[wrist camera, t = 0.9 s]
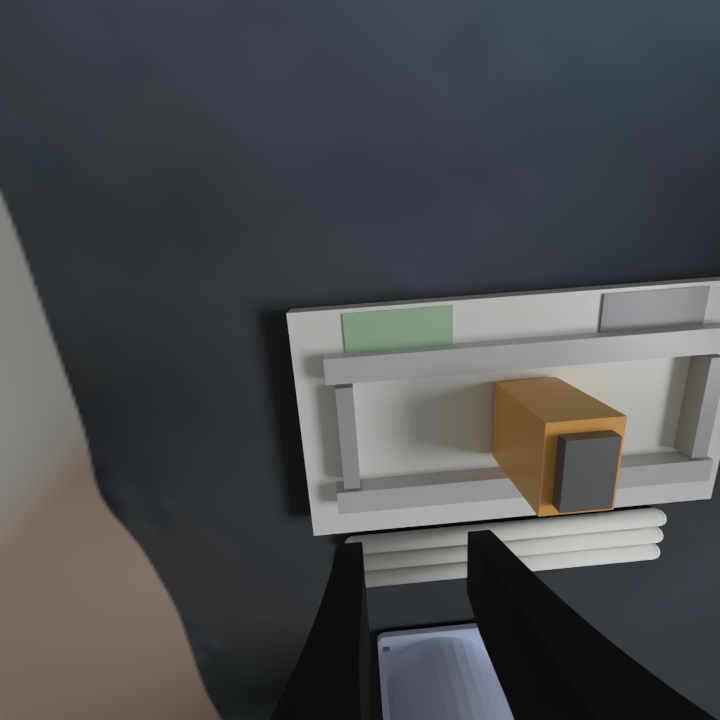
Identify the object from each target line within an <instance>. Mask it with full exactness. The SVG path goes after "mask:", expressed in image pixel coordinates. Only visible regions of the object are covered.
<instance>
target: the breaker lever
mask: <svg viewBox="0 0 720 720" xmlns="http://www.w3.org/2000/svg"><path fill="white" fill-rule="evenodd" d="M626 420H627V416H626V415H624V414H622V413H621V412H619V411H617V410H615V409H613V408H612V407H610V406H608V405H606V404H604V403H603V402H601V401H599V400H597V399H595V398H593V397H592V396H590V395H588V394H586V393H584V392H583V391H581V390H579V389H577V388H575V387H573V386H572V385H570V384H568V383H566V382H564V381H563V380H561V379H559V378H557V377H550V378H537V379H525V380H513V381H501V382H495V390H494V419H493V447H492V457H493V458H494V459H495V460H496V462H497V463H498V464H499V466H500V467H501V468H502V470H503V471H504V472H505V474H506V475H507V476H508V477H509V479H510V480H511V481H512V483H513V484H514V485H515V487H516V488H517V489H518V491H519V492H520V493H521V494H522V496H523V497H524V498H525V500H526V501H527V502H528V504H529V505H530V506H531V508H532V509H533V510H534V512H535V513H536V514H537V515H538V517H541V516H551V515H562V514H573V513H583V512H594V511H605V510H614V503H615V496H616V489H617V482H618V476H619V469H620V462H621V455H622V448H623V441H624V434H625V427H626Z"/></svg>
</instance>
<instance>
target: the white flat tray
mask: <svg viewBox="0 0 720 720" xmlns="http://www.w3.org/2000/svg"><path fill="white" fill-rule="evenodd" d="M286 315H287V323H288V331H289V339H290V347H291V355H292V364H293V372H294V380H295V388H296V396H297V404H298V412H299V420H300V428H301V436H302V444H303V452H304V460H305V468H306V476H307V484H308V492H309V500H310V508H311V516H312V524H313V532H314V536H316V535H327V534H338V533H348V532H359V531H370V530H380V529H391V528H402V527H413V526H423V525H434V524H445V523H455V522H466V521H477V520H487V519H498V518H509V517H519V516H530V515H537V514H536V513H535V512H534V510H533V509H532V508H531V506H530V505H529V504H528V502H527V501H526V500H525V498H524V497H523V496H522V494H521V493H520V492H519V491H518V489H517V488H516V487H515V485H514V484H513V483H512V481H511V480H510V479H509V477H508V476H507V475H506V474H505V472H504V471H503V470H502V468H501V467H500V466H499V464H498V463H497V462H496V460H495V459H494V458H493V457H492V447H493V419H494V390H495V382H501V381H513V380H525V379H537V378H550V377H557V378H559V379H561V380H563V381H564V382H566V383H568V384H570V385H572V386H573V387H575V388H577V389H579V390H581V391H583V392H584V393H586V394H588V395H590V396H592V397H593V398H595V399H597V400H599V401H601V402H603V403H604V404H606V405H608V406H610V407H612V408H613V409H615V410H617V411H619V412H621V413H622V414H624V415H626V416H627V420H626V427H625V434H624V441H623V448H622V455H621V462H620V469H619V476H618V482H617V489H616V496H615V503H614V508H616V507H626V506H637V505H648V504H658V503H669V502H680V501H690V500H701V499H711V495H712V491H713V486H714V482H715V478H716V473H717V469H718V464H719V460H720V277H708V278H695V279H681V280H668V281H655V282H642V283H628V284H615V285H602V286H588V287H575V288H562V289H548V290H535V291H522V292H508V293H495V294H482V295H468V296H455V297H442V298H428V299H415V300H402V301H388V302H375V303H362V304H349V305H335V306H322V307H309V308H295V309H290V310H289V311H288V312H287V313H286Z"/></svg>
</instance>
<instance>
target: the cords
mask: <svg viewBox="0 0 720 720" xmlns="http://www.w3.org/2000/svg"><path fill="white" fill-rule="evenodd" d="M666 521H667V518H666V515H665V514H664V512H663V511H661V510H660V509H657V508H645V509H634V510H624V511H613V512H602V513H592V514H581V515H570V516H560V517H549V518H538V519H528V520H517V521H506V522H496V523H485V524H474V525H464V526H453V527H443V528H432V529H421V530H411V531H400V532H389V533H379V534H368V535H357V536H350V537H348V538H347V539H346V541H345V543H353V542H362V546H363V558H364V571H365V583H366V587H376V586H386V585H396V584H406V583H417V582H427V581H437V580H447V579H457V578H467V546H468V532H470V531H480V530H491V531H492V532H493V533H494V534H495V535H496V536H497V537H498V538H499V539H500V540H501V541H502V542H503V543H504V544H505V545H506V546H507V547H508V548H509V549H510V550H511V551H512V552H513V553H514V554H515V555H516V556H517V557H518V558H519V559H520V560H521V561H522V562H523V563H524V564H525V565H526V566H527V567H528V568H529V569H530V570H531V571H539V570H549V569H559V568H569V567H580V566H590V565H600V564H610V563H620V562H631V561H641V560H651V559H656V558H658V557H659V556H660V549H659V548H658V546H657V545H656V544H655V543H658V542H661V541H662V539H663V533H662V531H661V530H660V529H659V528H658V527H657V526H662V525H664V524H665V523H666Z"/></svg>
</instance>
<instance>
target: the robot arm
mask: <svg viewBox="0 0 720 720" xmlns="http://www.w3.org/2000/svg"><path fill="white" fill-rule="evenodd" d="M467 593H468V597H469V600H470V604H471V607H472V610H473V614H474V617H475V620H476V623H471V624H462V625H452V626H442V627H432V628H422V629H413V630H403V631H393V632H384V633H381V634H380V635H379V636H378V637H377V644H378V657H379V671H380V684H381V698H382V711H383V720H514V719H515V720H717V719H715V718H714V717H713V716H711V715H710V714H708V713H707V712H705V711H704V710H702V709H701V708H699V707H698V706H697V705H695V704H694V703H692V702H691V701H689V700H688V699H686V698H685V697H683V696H682V695H681V694H679V693H678V692H676V691H675V690H674V689H672V688H671V687H669V686H668V685H667V684H665V683H664V682H663V681H661V680H660V679H658V678H657V677H656V676H654V675H653V674H652V673H651V672H649V671H648V670H647V669H645V668H644V667H643V666H641V665H640V664H639V663H637V662H636V661H635V660H634V659H632V658H631V657H630V656H628V655H627V654H626V653H624V652H623V651H622V650H621V649H619V648H618V647H617V646H616V645H614V644H613V643H612V642H611V641H609V640H608V639H607V638H606V637H605V636H603V635H602V634H601V633H600V632H599V631H597V630H596V629H595V628H594V627H593V626H592V625H590V624H589V623H588V622H587V621H586V620H585V619H583V618H582V617H581V616H580V615H579V614H578V613H577V612H575V611H574V610H573V609H572V608H571V607H570V606H569V605H568V604H566V603H565V602H564V601H563V600H562V599H561V598H560V597H559V596H558V595H557V594H556V593H554V592H553V591H552V590H551V589H550V588H549V587H548V586H547V585H546V584H545V583H544V582H543V581H542V580H541V579H539V578H538V577H537V576H536V575H535V574H534V573H533V572H532V571H531V570H530V569H529V568H528V567H527V566H526V565H525V564H524V563H523V562H522V561H521V560H520V559H519V558H518V557H517V556H516V555H515V554H514V553H513V552H512V551H511V550H510V549H509V548H508V547H507V546H506V545H505V544H504V543H503V542H502V541H501V540H500V539H499V538H498V537H497V536H496V535H495V534H494V533H493V532H492V531H491V530H480V531H470V532H468V546H467ZM506 699H507V700H506ZM508 704H509V705H508ZM509 707H510V708H509ZM510 709H511V710H510ZM511 712H512V713H511ZM512 714H513V716H514V718H513V716H512ZM270 720H370V634H369V621H368V608H367V595H366V583H365V571H364V558H363V546H362V542H353V543H343V544H339V545H338V546H337V547H336V551H335V557H334V561H333V566H332V570H331V573H330V577H329V580H328V584H327V587H326V590H325V593H324V596H323V599H322V602H321V604H320V607H319V610H318V613H317V616H316V619H315V621H314V624H313V626H312V629H311V631H310V634H309V636H308V639H307V641H306V643H305V646H304V648H303V651H302V653H301V655H300V658H299V660H298V662H297V665H296V667H295V669H294V671H293V673H292V676H291V678H290V680H289V682H288V684H287V686H286V688H285V690H284V692H283V694H282V696H281V698H280V700H279V702H278V704H277V707H276V709H275V710H274V712H273V714H272V716H271V718H270Z"/></svg>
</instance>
